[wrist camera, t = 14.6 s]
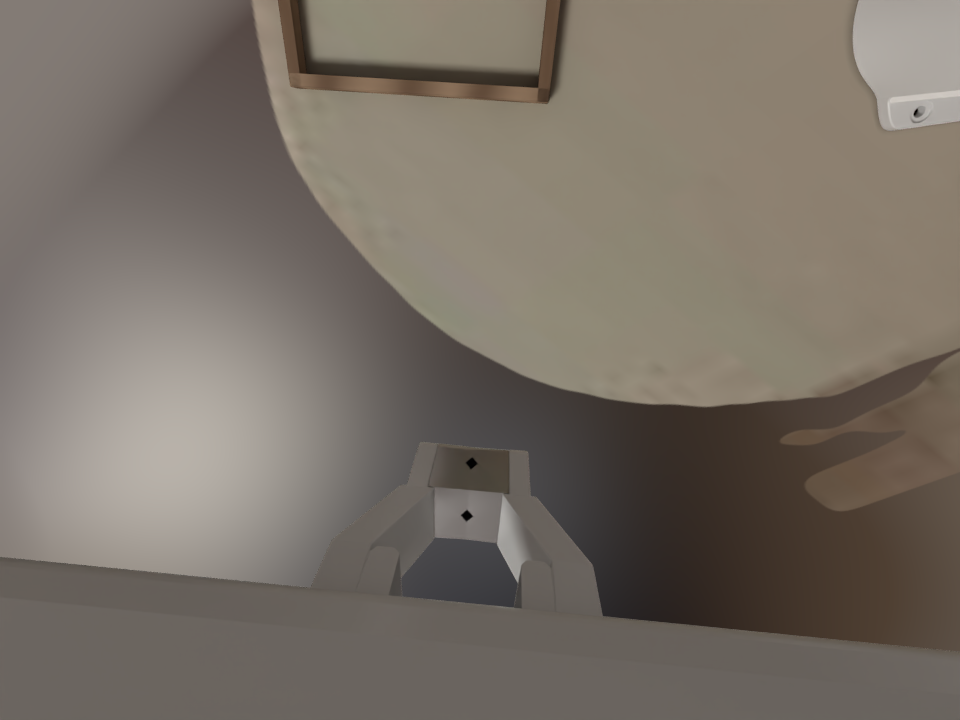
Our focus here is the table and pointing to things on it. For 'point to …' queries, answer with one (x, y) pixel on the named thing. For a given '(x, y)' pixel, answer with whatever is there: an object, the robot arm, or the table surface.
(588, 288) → the table surface
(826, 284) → the table surface
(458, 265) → the table surface
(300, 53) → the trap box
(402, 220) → the table surface
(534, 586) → the robot arm
